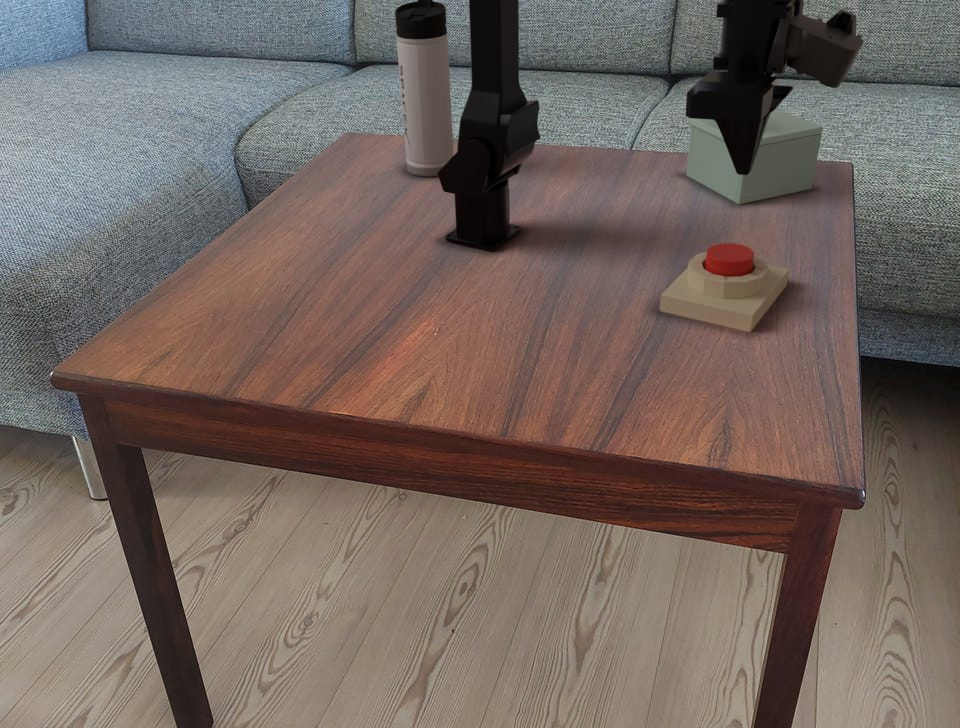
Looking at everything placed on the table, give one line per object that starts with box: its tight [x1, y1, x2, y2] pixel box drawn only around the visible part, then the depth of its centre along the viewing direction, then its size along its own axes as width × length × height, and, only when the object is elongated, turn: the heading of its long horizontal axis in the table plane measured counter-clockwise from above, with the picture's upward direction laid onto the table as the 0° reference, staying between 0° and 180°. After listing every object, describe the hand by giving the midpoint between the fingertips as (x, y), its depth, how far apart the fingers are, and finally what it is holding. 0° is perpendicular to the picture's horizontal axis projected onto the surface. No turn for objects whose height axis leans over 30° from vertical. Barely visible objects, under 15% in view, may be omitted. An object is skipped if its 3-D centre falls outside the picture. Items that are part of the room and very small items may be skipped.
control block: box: [659, 251, 790, 333], centre depth 90 cm, size 11×9×4 cm
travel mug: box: [394, 0, 454, 178], centre depth 118 cm, size 6×7×20 cm
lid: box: [687, 107, 824, 145], centre depth 111 cm, size 11×11×5 cm
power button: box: [705, 242, 755, 277], centre depth 89 cm, size 4×4×2 cm
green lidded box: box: [685, 124, 823, 205], centre depth 114 cm, size 11×11×7 cm
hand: (743, 173), depth 86 cm, fingers closed
